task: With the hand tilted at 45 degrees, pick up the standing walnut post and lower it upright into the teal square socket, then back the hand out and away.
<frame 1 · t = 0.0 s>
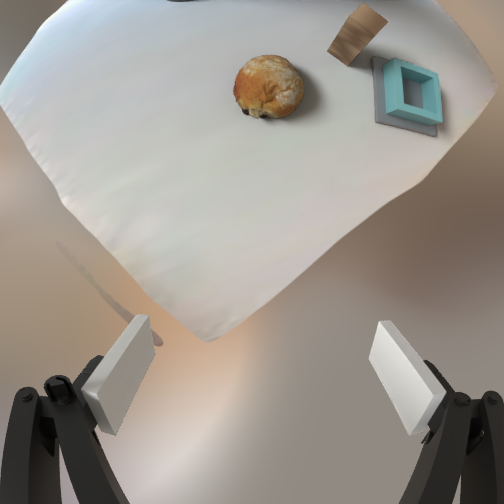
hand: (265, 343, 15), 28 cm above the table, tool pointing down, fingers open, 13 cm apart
walnut post: (343, 51, 33), on the table
teal square socket: (404, 96, 35), on the table
bread roll: (267, 91, 36), on the table
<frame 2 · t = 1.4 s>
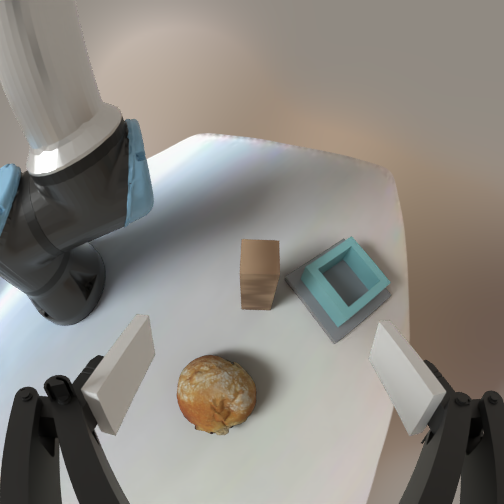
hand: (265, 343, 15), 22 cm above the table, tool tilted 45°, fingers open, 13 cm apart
walnut post: (256, 296, 39), on the table
teal square socket: (339, 288, 40), on the table
bread roll: (217, 395, 32), on the table
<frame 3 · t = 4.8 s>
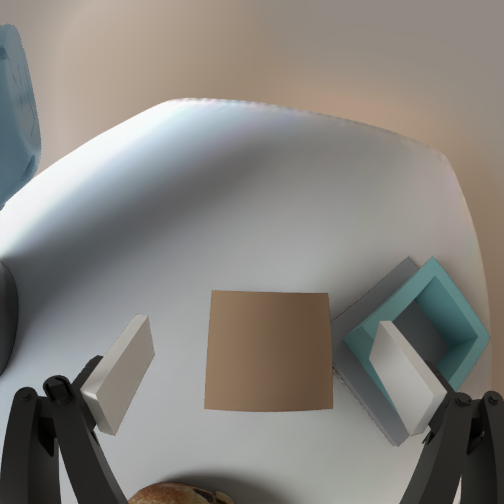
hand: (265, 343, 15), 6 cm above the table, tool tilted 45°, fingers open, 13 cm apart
walnut post: (257, 374, 19), on the table
teal square socket: (404, 348, 19), on the table
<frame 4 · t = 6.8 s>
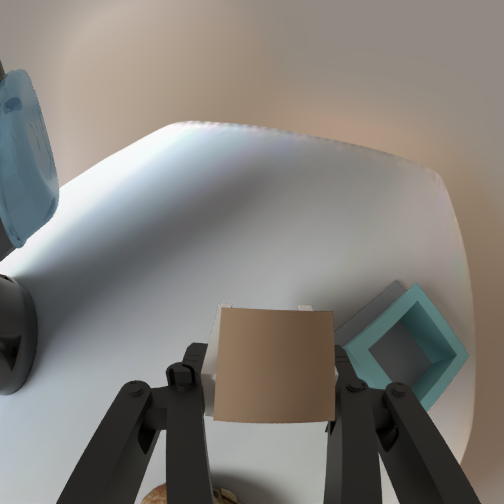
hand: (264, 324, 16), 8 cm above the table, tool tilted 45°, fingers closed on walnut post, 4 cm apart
walnut post: (258, 381, 19), point 3 cm above the table, touching gripper
teal square socket: (389, 363, 22), on the table
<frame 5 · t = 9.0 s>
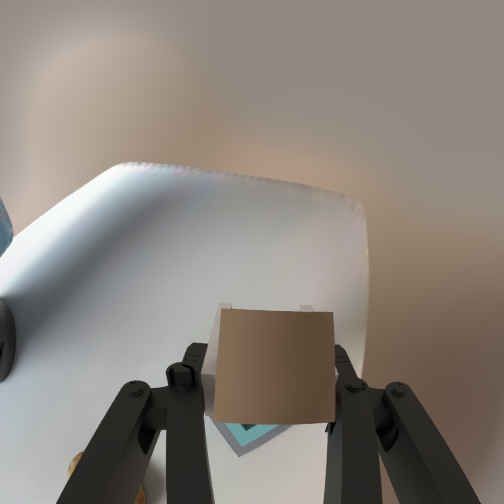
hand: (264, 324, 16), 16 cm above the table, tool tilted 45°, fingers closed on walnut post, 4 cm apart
walnut post: (258, 382, 19), point 11 cm above the table, touching gripper
teal square socket: (254, 388, 28), on the table
bread roll: (112, 485, 21), on the table
when the fingers open (6 cm above the table, at t = 11.2 s): walnut post stays where it is, resting on teal square socket.
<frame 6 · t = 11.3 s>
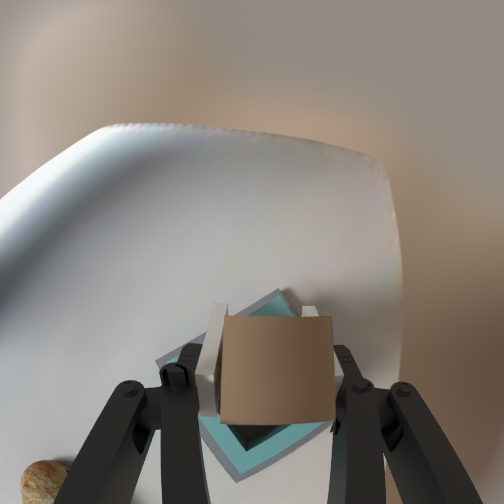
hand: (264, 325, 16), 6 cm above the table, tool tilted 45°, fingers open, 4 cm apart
walnut post: (260, 383, 19), point 1 cm above the table, touching teal square socket
teal square socket: (258, 387, 20), on the table
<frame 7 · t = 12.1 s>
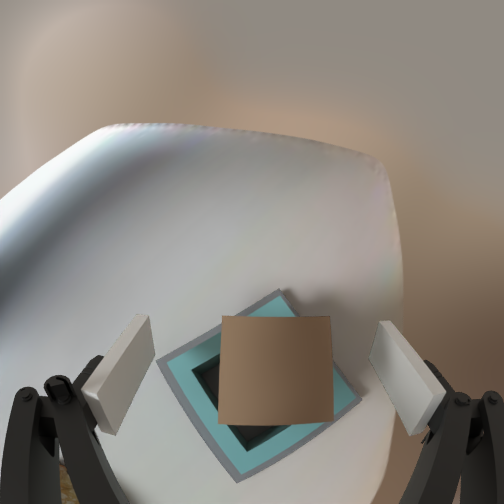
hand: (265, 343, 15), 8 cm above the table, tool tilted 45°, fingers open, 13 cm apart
walnut post: (261, 383, 19), point 1 cm above the table, touching teal square socket
teal square socket: (258, 387, 20), on the table
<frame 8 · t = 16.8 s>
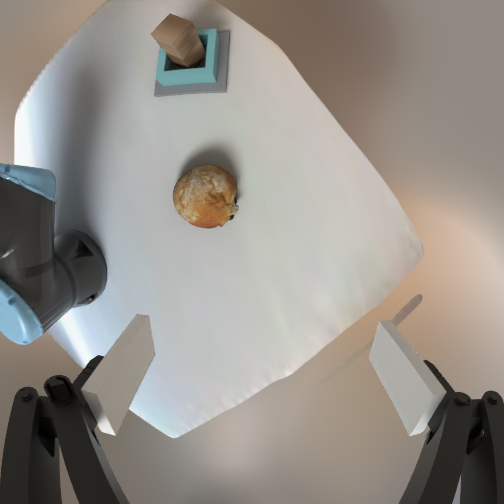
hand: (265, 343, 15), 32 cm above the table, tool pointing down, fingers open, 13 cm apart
walnut post: (190, 59, 36), point 1 cm above the table, touching teal square socket
teal square socket: (192, 63, 37), on the table
bread roll: (209, 196, 44), on the table
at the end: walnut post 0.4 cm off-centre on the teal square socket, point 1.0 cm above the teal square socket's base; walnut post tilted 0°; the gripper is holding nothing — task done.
